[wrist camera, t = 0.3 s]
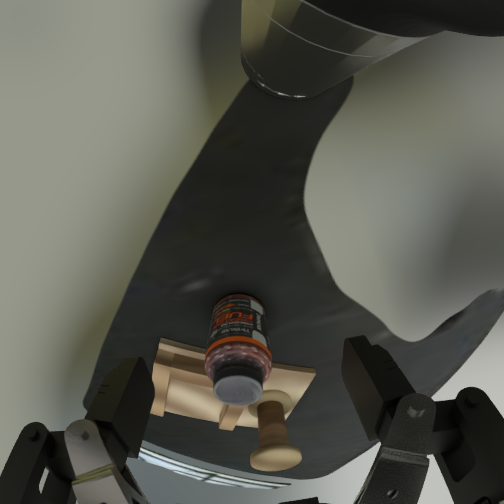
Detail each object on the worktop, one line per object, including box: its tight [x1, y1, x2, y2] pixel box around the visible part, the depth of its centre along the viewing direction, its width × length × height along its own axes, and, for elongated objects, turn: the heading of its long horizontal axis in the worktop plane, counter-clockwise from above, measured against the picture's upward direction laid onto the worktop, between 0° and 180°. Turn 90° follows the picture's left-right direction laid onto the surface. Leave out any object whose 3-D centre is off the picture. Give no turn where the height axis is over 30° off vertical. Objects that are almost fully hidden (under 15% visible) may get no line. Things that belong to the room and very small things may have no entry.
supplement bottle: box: [205, 294, 272, 406], centre depth 25 cm, size 6×6×11 cm
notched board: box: [150, 338, 316, 431], centre depth 33 cm, size 14×20×4 cm
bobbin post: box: [248, 390, 302, 471], centre depth 30 cm, size 6×6×10 cm
